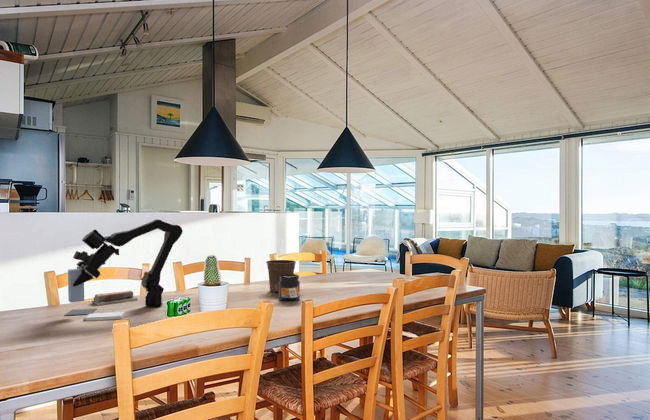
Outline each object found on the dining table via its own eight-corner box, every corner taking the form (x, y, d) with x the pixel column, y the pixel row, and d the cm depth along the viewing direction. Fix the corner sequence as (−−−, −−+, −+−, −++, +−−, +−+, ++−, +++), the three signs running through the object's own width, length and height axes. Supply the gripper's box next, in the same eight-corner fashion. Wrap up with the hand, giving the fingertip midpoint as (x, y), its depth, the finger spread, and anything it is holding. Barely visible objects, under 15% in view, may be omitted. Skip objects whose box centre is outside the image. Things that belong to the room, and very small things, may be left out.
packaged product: (98, 296, 206) (91, 293, 213) (98, 306, 206) (91, 303, 213) (137, 291, 218) (130, 288, 225) (137, 301, 218) (130, 298, 225)
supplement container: (295, 302, 214) (295, 277, 214) (275, 300, 217) (275, 276, 217) (302, 298, 224) (303, 274, 224) (283, 296, 227) (283, 273, 227)
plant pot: (284, 286, 255) (284, 258, 255) (301, 291, 243) (302, 261, 243) (260, 290, 245) (260, 261, 245) (277, 294, 232) (277, 264, 232)
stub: (81, 298, 189) (81, 268, 189) (84, 300, 185) (83, 269, 185) (68, 300, 186) (67, 269, 186) (70, 302, 182) (69, 271, 182)
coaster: (96, 309, 198) (96, 308, 198) (90, 314, 189) (90, 313, 189) (72, 310, 196) (72, 309, 196) (64, 315, 186) (64, 314, 186)
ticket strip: (125, 314, 188) (125, 311, 188) (121, 318, 182) (121, 315, 182) (89, 316, 185) (89, 313, 185) (83, 320, 179) (83, 317, 179)
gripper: (81, 242, 195) (52, 270, 188) (91, 245, 180) (60, 275, 174) (101, 259, 200) (74, 286, 193) (112, 263, 185) (83, 293, 179)
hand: (72, 285), depth 184 cm, fingers closed on stub, 5 cm apart
